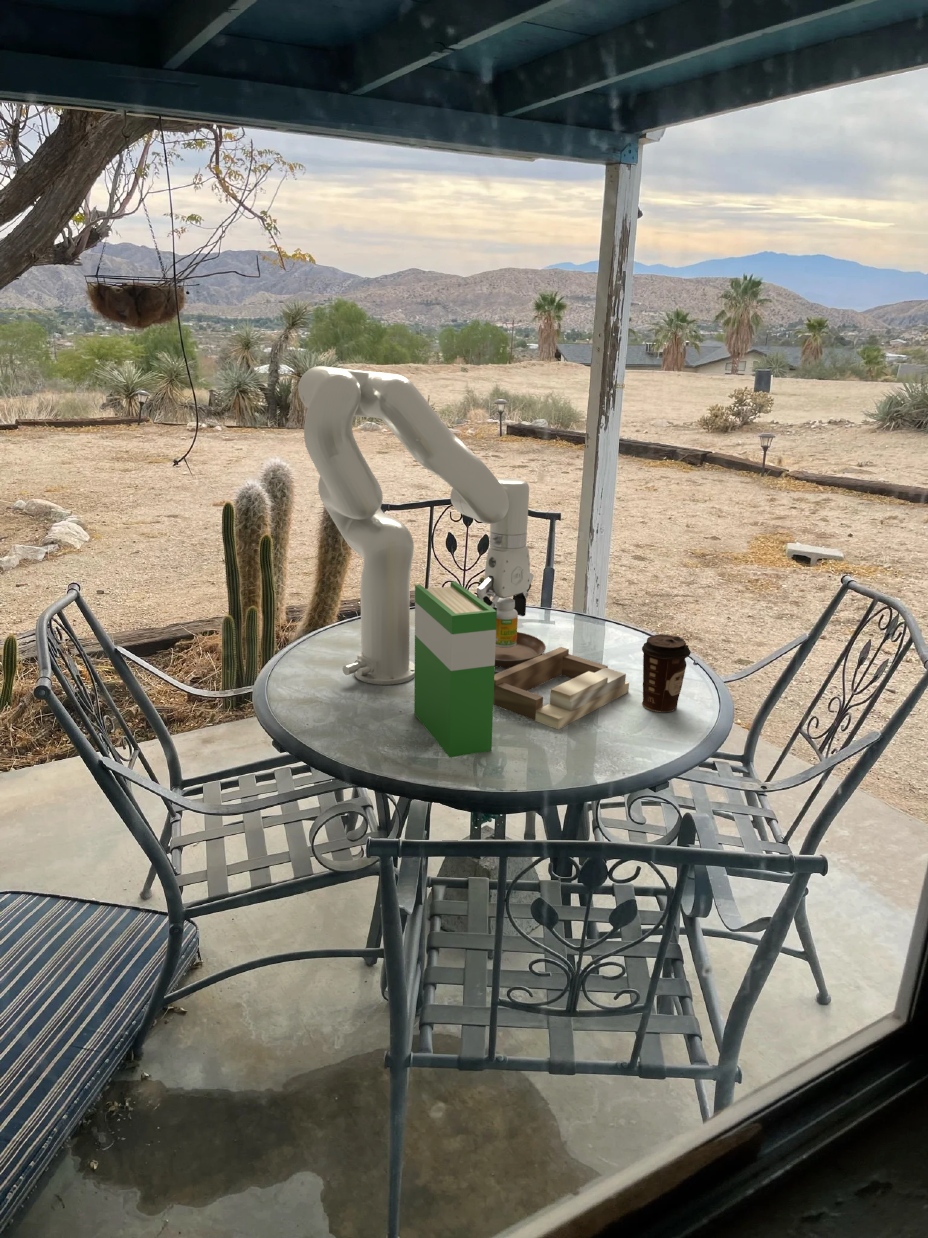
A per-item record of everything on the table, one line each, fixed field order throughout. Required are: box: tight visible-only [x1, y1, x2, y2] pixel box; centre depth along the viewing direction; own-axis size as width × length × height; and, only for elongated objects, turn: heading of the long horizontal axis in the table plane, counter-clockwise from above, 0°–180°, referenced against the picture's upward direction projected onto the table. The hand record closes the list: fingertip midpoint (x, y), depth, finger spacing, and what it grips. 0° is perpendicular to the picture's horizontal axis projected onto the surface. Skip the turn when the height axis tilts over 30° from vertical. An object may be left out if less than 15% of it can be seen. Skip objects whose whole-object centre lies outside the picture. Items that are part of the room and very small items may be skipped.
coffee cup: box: [641, 633, 692, 713], centre depth 156 cm, size 9×8×13 cm
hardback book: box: [413, 581, 497, 758], centre depth 142 cm, size 18×7×24 cm, turn 22°
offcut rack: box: [493, 646, 630, 730], centre depth 160 cm, size 23×16×5 cm
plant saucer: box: [495, 631, 547, 669], centre depth 181 cm, size 18×18×3 cm
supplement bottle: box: [495, 597, 519, 648], centre depth 179 cm, size 5×5×10 cm
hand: (504, 619), depth 179 cm, fingers open, 9 cm apart
